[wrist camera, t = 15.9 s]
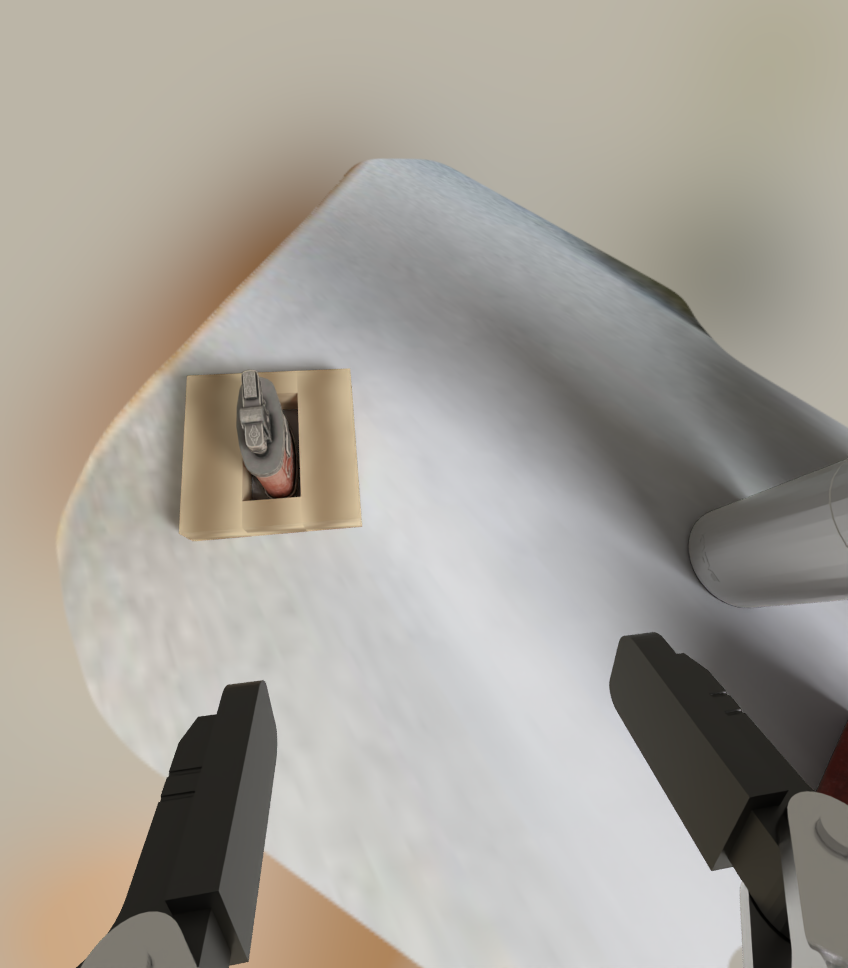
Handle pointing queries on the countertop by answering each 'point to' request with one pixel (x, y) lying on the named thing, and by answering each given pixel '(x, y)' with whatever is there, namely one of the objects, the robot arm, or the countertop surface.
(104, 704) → the countertop surface
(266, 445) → the lighter
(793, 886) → the robot arm
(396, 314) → the countertop surface
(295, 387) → the rail
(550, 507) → the countertop surface
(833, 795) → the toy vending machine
